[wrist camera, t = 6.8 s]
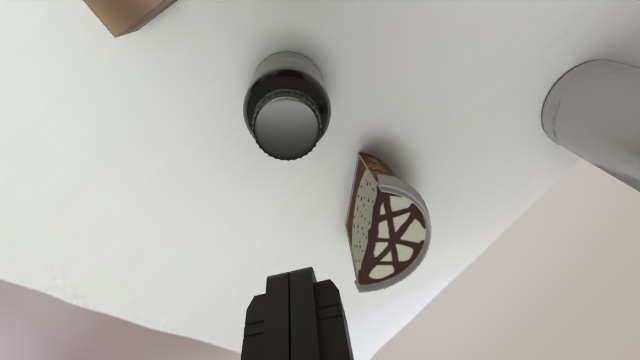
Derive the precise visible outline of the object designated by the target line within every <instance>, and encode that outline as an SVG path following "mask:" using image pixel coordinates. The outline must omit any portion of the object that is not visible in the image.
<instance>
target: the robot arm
mask: <svg viewBox="0 0 640 360" xmlns="http://www.w3.org/2000/svg"><path fill="white" fill-rule="evenodd" d="M542 124H543V127H544V130H545V132H546V134H547V135H548V137H550V138H551V139H552V140H553V141H554V142H556V143H558V144H560V145H561V146H563V147H565V148H566V149H568V150H570V151H571V152H573V153H575V154H577V155H578V156H580V157H581V158H583V159H585V160H587V161H588V162H590V163H592V164H593V165H595V166H597V167H598V168H600V169H602V170H603V171H605V172H607V173H609V174H610V175H612V176H614V177H616V178H617V179H619V180H621V181H622V182H624V183H626V184H627V185H629V186H631V187H632V188H634V189H636V190H637V191H639V192H640V68H638V67H634V66H628V65H624V64H620V63H615V62H611V61H607V60H595V61H590V62H586V63H584V64H582V65H579V66H577V67H575V68H574V69H572V70H571V71H569V72H568V73H567V74H565V75H564V76H563V77H562V78H561V79H560V80H559V81H558V82H557V83H556V85H555V86H554V87H553V88H552V90H551V91H550V93H549V95H548V96H547V99H546V101H545V104H544V107H543V112H542ZM241 360H354V358H353V353H352V348H351V342H350V337H349V331H348V325H347V320H346V316H345V312H344V309H343V305H342V301H341V297H340V293H339V289H338V288H337V287H336V286H335V284H334V283H333V282H332V281H331V280H330V279H329V280H324V281H320V282H317V281H316V277H315V274H314V270H313V268H312V267H308V268H304V269H299V270H295V271H291V272H286V273H282V274H277V275H273V276H268V277H267V282H266V294H261V295H257V296H254V298H253V299H252V301H251V303H250V305H249V307H248V308H247V311H246V320H245V328H244V339H243V345H242V354H241Z"/></svg>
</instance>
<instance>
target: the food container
mask: <svg viewBox="0 0 640 360" xmlns="http://www.w3.org/2000/svg"><path fill="white" fill-rule="evenodd" d="M345 225H346V230H347V235H348V240H349V245H350V251H351V256H352V261H353V266H354V271H355V276H356V280H355V284H356V287H357V290H358V291H359V292H372V291H378V290H381V289H385V288H388V287H390V286H393V285H395V284H397V283H399V282H400V281H402V280H404V279H405V278H406V277H408V276H409V275H410V274H411V273H412V272H414V271H415V270H416V269H417V267H418V266H419V265H420V264H421V262H422V261H423V259H424V257H425V256H426V253H427V251H428V249H429V244H430V238H431V223H430V218H429V213H428V209H427V207H426V204H425V202H424V200H423V199H422V197H421V196H420V194H419V193H418V192H417V191H416V190H415V189H414V188H413V187H411V186H410V185H409V184H407V183H406V182H404V181H402V180H399V179H397V177H396V176H395V175H394V174H393V172H392V171H391V170H390V169H389V168H388V166H387V165H386V164H385V163H384V162H382V161H381V160H379V159H378V158H376V157H374V156H371V155H368V154H364V153H358V158H357V163H356V169H355V174H354V180H353V186H352V191H351V197H350V202H349V208H348V213H347V219H346V224H345Z"/></svg>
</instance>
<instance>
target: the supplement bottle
mask: <svg viewBox="0 0 640 360" xmlns="http://www.w3.org/2000/svg"><path fill="white" fill-rule="evenodd" d="M243 115H244V120H245V124H246V126H247V128H248V130H249V132H250V134H251V135H252V136H253V138H254V139H255V140H256V143H257V144H258V145H259V148H260V149H262V150H263V151H264V153H267V154H268V155H269V156H271V157H274V158H275V159H280V160H288V161H289V160H296V159H297V158H301V157H303V156H305V155H307V154H308V152H311V151H312V149H313V148H314V147H315V146H316V143H317V142H318V141H319V140H320V139H321V138H322V137H323V135H324V134H325V132H326V130H327V128H328V125H329V122H330V117H331V106H330V100H329V97H328V94H327V91H326V88H325V84H324V81H323V78H322V76H321V74H320V71H319V70H318V68H317V67H316V65H315V64H314V63H313V62H312V61H311V60H309V59H308V58H307V57H305V56H303V55H301V54H298V53H295V52H280V53H276V54H274V55H271V56H270V57H268V58H267V59H265V60H264V61H263V62H262V63H261V64H260V65H259V67H258V68H257V70H256V72H255V74H254V76H253V79H252V81H251V83H250V86H249V88H248V91H247V93H246V96H245V100H244V105H243Z"/></svg>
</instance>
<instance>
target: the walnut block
mask: <svg viewBox="0 0 640 360" xmlns="http://www.w3.org/2000/svg"><path fill="white" fill-rule="evenodd" d="M83 1H84V2H85V3H86V4H87V6H88V7H89V8H90V9H91V10H92V11H93V13H94V14H95V15H96V16H97V17H98V18H99V20H100V21H101V22H102V23H103V24H104V25H105V27H106V28H107V29H108V30H109V31H110V32H111V34H112V35H113V36H114V37H115V38H116V37H119V36H122V35H125V34H128V33H131V32H134V31H137V30H139V29H140V28H141V27H143V26H144V25H145V24H147V23H148V22H149V21H151V20H152V19H153V18H155V17H156V16H157V15H159V14H160V13H161V12H163V11H164V10H165V9H167V8H168V7H169V6H170V5H172V4H173V3H174V2H176V1H177V0H83Z"/></svg>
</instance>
